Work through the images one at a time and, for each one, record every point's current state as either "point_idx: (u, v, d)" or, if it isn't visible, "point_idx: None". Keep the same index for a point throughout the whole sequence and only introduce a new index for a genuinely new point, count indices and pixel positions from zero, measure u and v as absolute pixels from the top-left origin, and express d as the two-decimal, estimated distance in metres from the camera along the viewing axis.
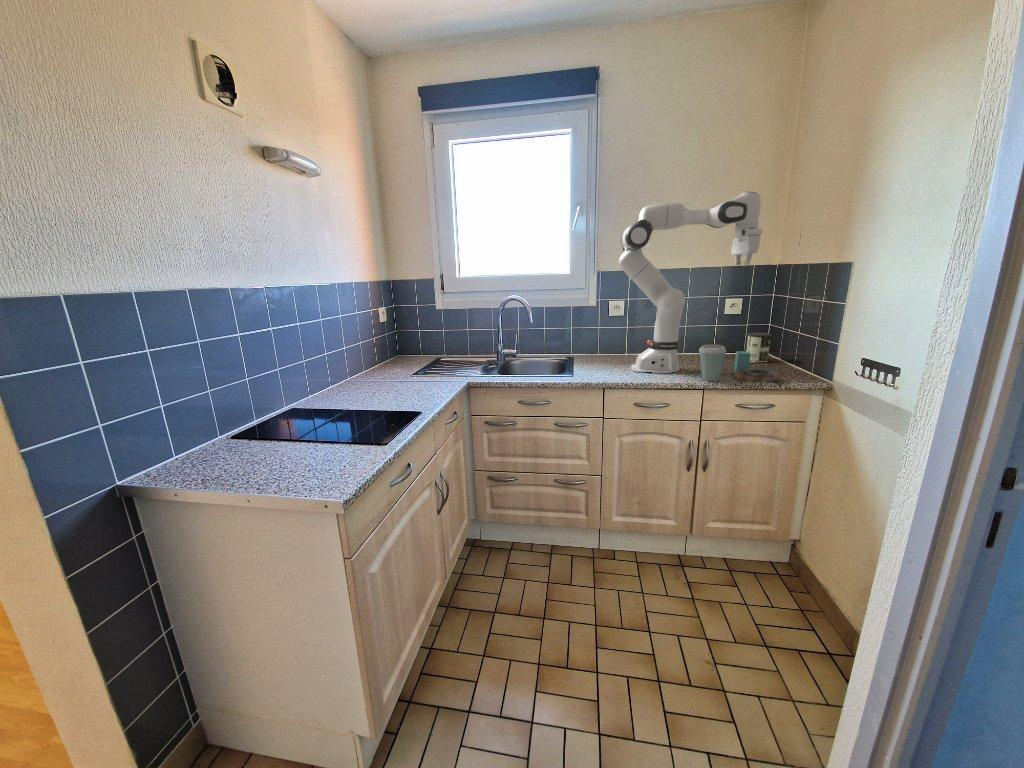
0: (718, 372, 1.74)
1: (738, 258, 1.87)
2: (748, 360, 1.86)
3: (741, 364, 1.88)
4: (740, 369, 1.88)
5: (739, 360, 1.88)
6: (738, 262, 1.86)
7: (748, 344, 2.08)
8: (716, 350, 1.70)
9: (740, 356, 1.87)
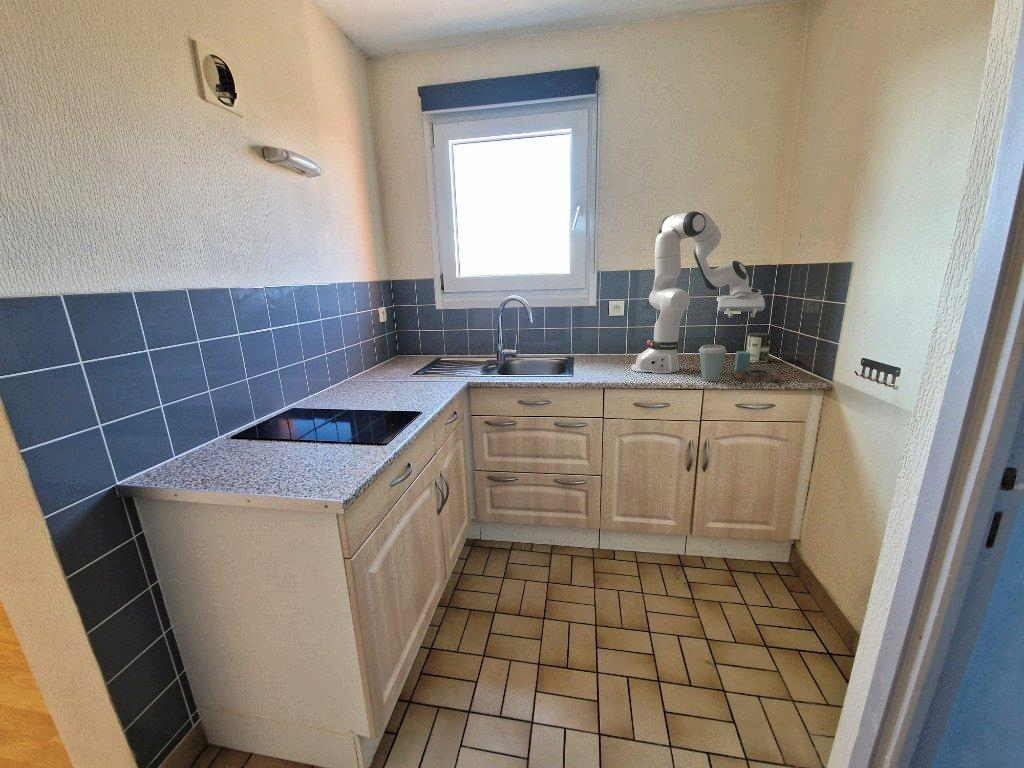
0: (718, 372, 1.74)
1: None
2: (748, 360, 1.86)
3: (741, 364, 1.88)
4: (740, 369, 1.88)
5: (739, 360, 1.88)
6: None
7: (748, 344, 2.08)
8: (716, 350, 1.70)
9: (740, 356, 1.87)
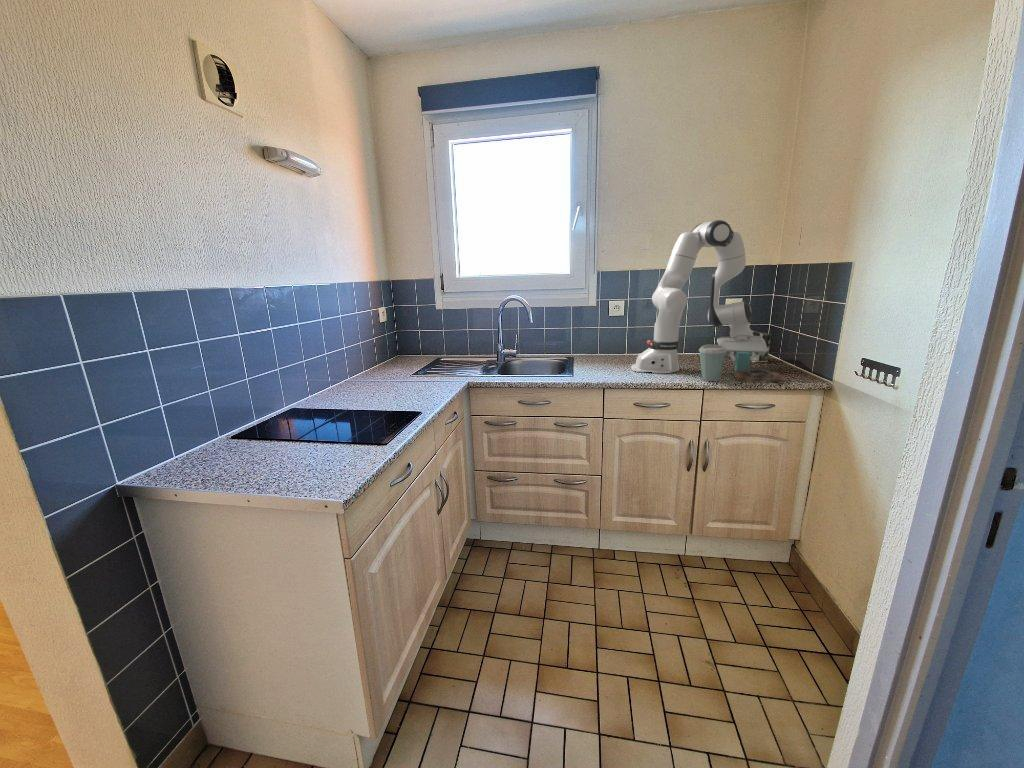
0: (718, 372, 1.74)
1: None
2: (748, 360, 1.86)
3: (741, 364, 1.88)
4: (740, 369, 1.88)
5: (739, 360, 1.88)
6: None
7: None
8: (716, 350, 1.70)
9: (740, 356, 1.87)
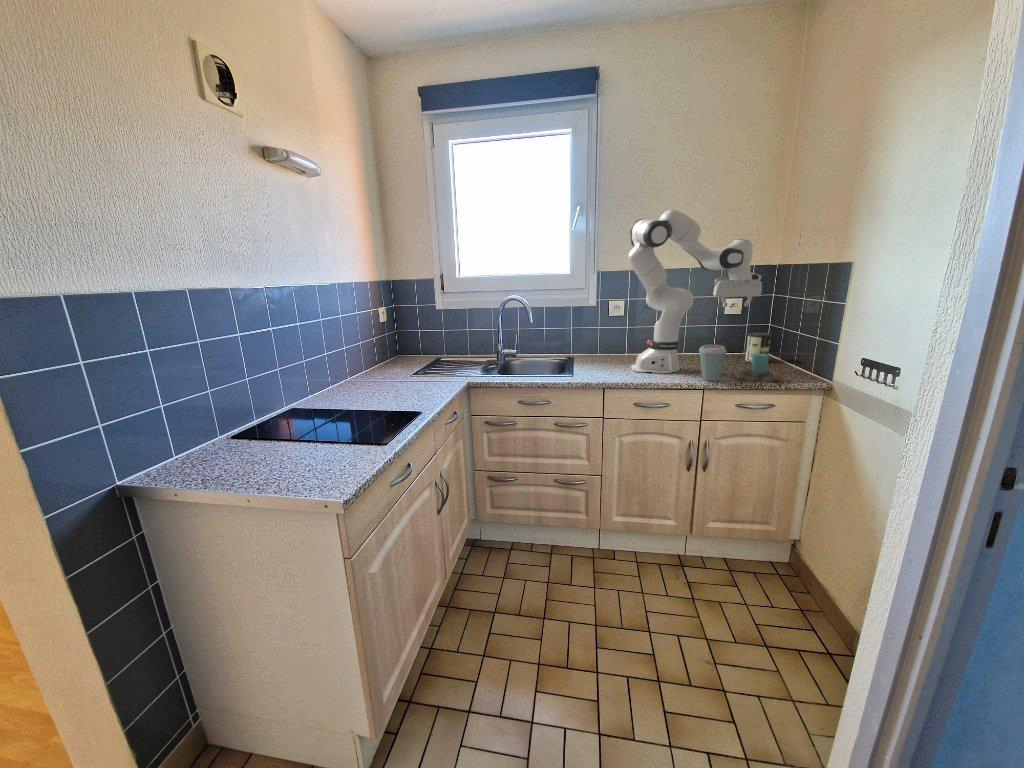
0: (718, 372, 1.74)
1: None
2: (766, 363, 1.73)
3: (758, 367, 1.75)
4: (757, 373, 1.75)
5: (756, 363, 1.74)
6: None
7: (748, 344, 2.08)
8: (716, 350, 1.70)
9: (758, 359, 1.74)
